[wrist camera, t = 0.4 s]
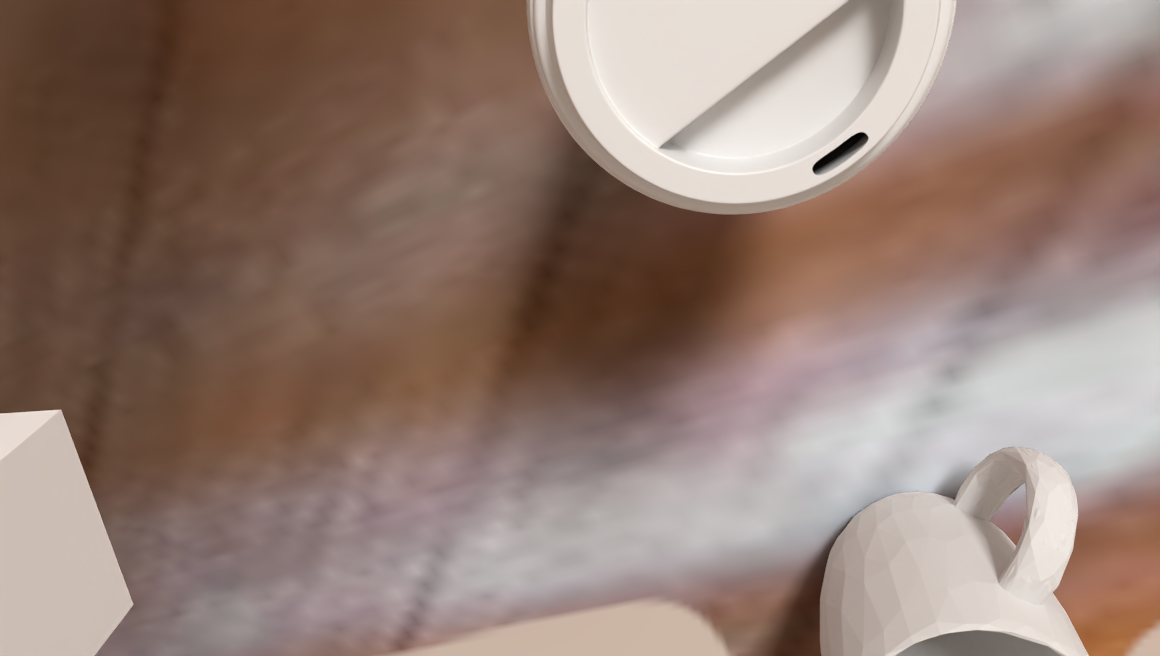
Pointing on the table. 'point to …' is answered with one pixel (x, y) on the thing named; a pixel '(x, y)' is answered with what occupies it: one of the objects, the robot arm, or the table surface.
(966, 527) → the mug
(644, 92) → the coffee cup
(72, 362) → the table surface
